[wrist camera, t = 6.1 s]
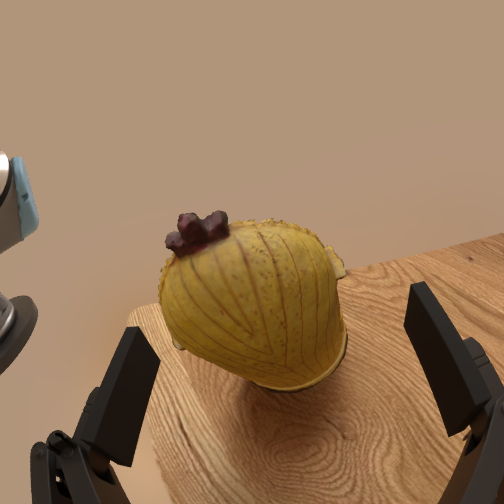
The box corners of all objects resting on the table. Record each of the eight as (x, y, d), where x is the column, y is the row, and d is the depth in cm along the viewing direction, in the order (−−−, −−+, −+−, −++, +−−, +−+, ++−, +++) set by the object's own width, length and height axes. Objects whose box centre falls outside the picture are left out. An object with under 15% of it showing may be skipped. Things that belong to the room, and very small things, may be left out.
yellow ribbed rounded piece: (346, 453, 13) (367, 206, 5) (216, 446, 15) (76, 244, 8) (345, 321, 22) (330, 131, 15) (251, 325, 24) (200, 153, 17)
